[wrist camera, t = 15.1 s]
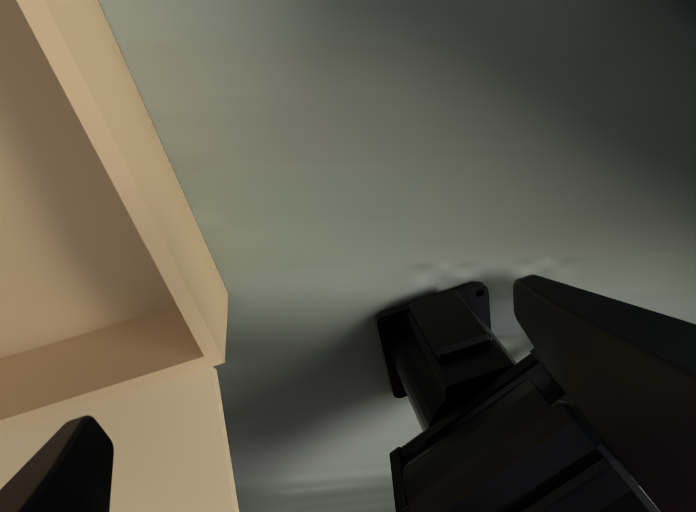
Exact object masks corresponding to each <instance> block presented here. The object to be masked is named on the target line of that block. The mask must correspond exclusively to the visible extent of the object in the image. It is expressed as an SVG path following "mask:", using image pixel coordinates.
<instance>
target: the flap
mask: <svg viewBox="0 0 696 512" xmlns="http://www.w3.org/2000/svg"><path fill="white" fill-rule="evenodd" d="M85 415H90V416H92V417H94V418H95V419H96V421H97V422H98V423H99V425H100V426H101V427H102V428H103V430H104V431H105V432H106V434H107V435H108V436H109V437H110V439H111V441H112V443H113V447H114V458H113V472H112V485H111V499H110V512H239V508H238V501H237V495H236V489H235V482H234V476H233V470H232V463H231V457H230V451H229V444H228V438H227V432H226V426H225V419H224V413H223V407H222V400H221V394H220V388H219V381H218V375H217V370H216V369H215V368H214V367H210V368H207V369H204V370H200V371H197V372H194V373H191V374H188V375H184V376H181V377H178V378H175V379H172V380H169V381H165V382H162V383H159V384H156V385H153V386H150V387H146V388H143V389H140V390H137V391H134V392H131V393H127V394H124V395H121V396H118V397H115V398H112V399H108V400H105V401H102V402H99V403H96V404H93V405H89V406H86V407H83V408H80V409H77V410H74V411H70V412H67V413H64V414H61V415H58V416H55V417H51V418H48V419H45V420H42V421H39V422H35V423H32V424H29V425H26V426H23V427H20V428H16V429H13V430H10V431H7V432H4V433H1V434H0V489H1V488H2V487H3V486H4V485H5V484H6V483H7V482H8V481H9V480H10V479H11V478H12V477H13V476H14V475H15V474H16V473H17V472H18V471H19V470H20V469H21V468H22V467H23V466H24V465H25V464H26V463H27V462H28V461H29V460H30V459H31V458H32V457H33V456H34V455H35V454H36V453H37V451H38V450H39V449H40V448H41V447H42V446H43V445H44V444H45V443H46V442H47V441H48V440H49V439H50V438H51V437H52V436H53V435H54V434H55V433H56V432H57V431H58V430H59V429H60V428H61V427H62V426H63V425H64V424H65V423H66V422H68V421H70V420H72V419H76V418H79V417H82V416H85Z"/></svg>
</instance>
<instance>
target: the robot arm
mask: <svg viewBox="0 0 696 512" xmlns="http://www.w3.org/2000/svg"><path fill="white" fill-rule="evenodd" d="M479 289H481V290H480V291H479V292H478V293H476V292H477V291H478V290H479ZM513 298H514V313H515V316H516V319H517V321H518V322H519V324H520V325H521V327H522V329H523V330H524V332H525V333H526V335H527V336H528V338H529V340H530V341H531V343H532V344H533V346H534V348H533V349H532V350H531V351H530V354H529V355H528V356H526V357H525V358H523V359H522V360H521V361H519V362H518V363H516V361H515V360H514V359H513V358H512V356H511V355H510V354H509V353H508V351H507V350H506V349H505V348H504V346H503V345H502V344H501V343H500V341H499V340H498V339H497V338H496V336H495V335H494V334H493V333H492V331H491V321H490V307H489V292H488V288H487V287H486V286H485V285H484V284H483V283H482V282H475V283H472V284H468V285H465V286H462V287H459V288H456V289H453V290H449V291H446V292H443V293H440V294H437V295H434V296H430V297H427V298H424V299H421V300H418V301H415V302H411V303H408V304H405V305H402V306H399V307H396V308H392V309H389V310H386V311H383V312H381V313H379V314H378V315H377V316H376V318H375V324H376V328H377V332H378V336H379V340H380V344H381V348H382V353H383V357H384V361H385V365H386V369H387V373H388V377H389V382H390V386H391V390H392V392H393V395H394V396H395V397H396V398H403V397H406V396H408V398H409V400H410V403H411V405H412V407H413V409H414V412H415V414H416V416H417V419H418V421H419V423H420V425H421V428H422V430H423V432H422V433H420V434H419V435H418V436H416V437H415V438H413V439H412V440H411V441H409V442H408V443H407V444H405V445H404V446H402V447H398V448H396V449H395V450H393V451H392V452H391V453H390V462H391V472H392V481H393V490H394V499H395V508H396V512H696V324H693V323H690V322H686V321H683V320H680V319H677V318H674V317H670V316H667V315H664V314H661V313H657V312H654V311H651V310H648V309H644V308H641V307H638V306H635V305H631V304H628V303H625V302H622V301H618V300H615V299H612V298H609V297H605V296H602V295H599V294H596V293H592V292H589V291H586V290H583V289H580V288H576V287H573V286H570V285H567V284H563V283H560V282H557V281H554V280H550V279H547V278H544V277H541V276H537V275H528V276H525V277H522V278H518V279H516V280H515V281H514V284H513ZM385 319H388V320H387V321H386V322H383V323H382V321H383V320H385ZM400 389H401V390H400ZM113 458H114V447H113V443H112V441H111V439H110V437H109V436H108V435H107V434H106V432H105V431H104V430H103V428H102V427H101V426H100V425H99V423H98V422H97V421H96V419H95V418H94V417H92V416H90V415H85V416H82V417H79V418H76V419H72V420H70V421H68V422H66V423H65V424H64V425H63V426H62V427H61V428H60V429H59V430H58V431H57V432H56V433H55V434H54V435H53V436H52V437H51V438H50V439H49V440H48V441H47V442H46V443H45V444H44V445H43V446H42V447H41V448H40V449H39V450H38V451H37V453H36V454H35V455H34V456H33V457H32V458H31V459H30V460H29V461H28V462H27V463H26V464H25V465H24V466H23V467H22V468H21V469H20V470H19V471H18V472H17V473H16V474H15V475H14V476H13V477H12V478H11V479H10V480H9V481H8V482H7V483H6V484H5V485H4V486H3V487H2V488H1V489H0V512H110V499H111V485H112V472H113ZM639 486H640V487H641V488H642V489H643V490H644V492H645V493H646V494H647V495H648V497H649V498H650V499H651V500H652V502H653V503H654V504H655V505H656V507H657V508H658V509H659V510H660V511H659V510H658V509H657V508H656V507H655V505H654V504H653V503H652V502H651V501H650V500H649V498H648V497H647V496H646V495H645V494H644V492H643V491H642V490H641V489H640V488H639Z"/></svg>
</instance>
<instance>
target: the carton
mask: <svg viewBox="0 0 696 512" xmlns="http://www.w3.org/2000/svg"><path fill="white" fill-rule="evenodd" d="M227 311H228V293H227V290H226V288H225V286H224V284H223V281H222V279H221V277H220V275H219V272H218V270H217V268H216V266H215V263H214V261H213V259H212V257H211V254H210V252H209V250H208V248H207V245H206V243H205V241H204V239H203V236H202V234H201V232H200V230H199V227H198V225H197V223H196V221H195V218H194V216H193V214H192V212H191V209H190V207H189V205H188V203H187V200H186V198H185V196H184V194H183V191H182V189H181V187H180V185H179V182H178V180H177V178H176V176H175V174H174V171H173V169H172V167H171V165H170V162H169V160H168V158H167V156H166V153H165V151H164V149H163V147H162V144H161V142H160V140H159V138H158V135H157V133H156V131H155V129H154V126H153V124H152V122H151V120H150V117H149V115H148V113H147V111H146V108H145V106H144V104H143V102H142V99H141V97H140V95H139V93H138V90H137V88H136V86H135V84H134V81H133V79H132V77H131V75H130V72H129V70H128V68H127V66H126V63H125V61H124V59H123V57H122V54H121V52H120V50H119V48H118V45H117V43H116V41H115V39H114V36H113V34H112V32H111V30H110V27H109V25H108V23H107V21H106V18H105V16H104V14H103V12H102V9H101V7H100V5H99V3H98V0H0V434H1V433H4V432H7V431H10V430H13V429H16V428H20V427H23V426H26V425H29V424H32V423H35V422H39V421H42V420H45V419H48V418H51V417H55V416H58V415H61V414H64V413H67V412H70V411H74V410H77V409H80V408H83V407H86V406H89V405H93V404H96V403H99V402H102V401H105V400H108V399H112V398H115V397H118V396H121V395H124V394H127V393H131V392H134V391H137V390H140V389H143V388H146V387H150V386H153V385H156V384H159V383H162V382H165V381H169V380H172V379H175V378H178V377H181V376H184V375H188V374H191V373H194V372H197V371H200V370H204V369H207V368H210V367H213V366H216V365H219V364H223V363H225V349H226V330H227Z"/></svg>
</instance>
